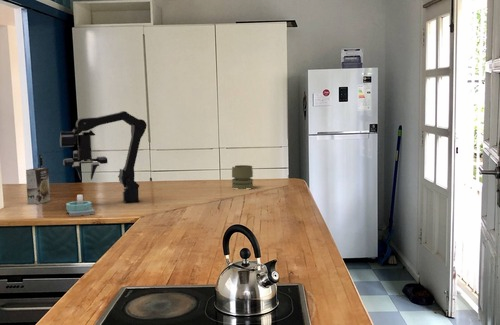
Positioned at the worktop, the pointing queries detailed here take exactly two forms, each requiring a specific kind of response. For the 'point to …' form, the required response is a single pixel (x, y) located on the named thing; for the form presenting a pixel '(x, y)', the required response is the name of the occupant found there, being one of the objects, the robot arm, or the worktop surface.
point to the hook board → (78, 213)
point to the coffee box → (37, 185)
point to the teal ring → (78, 206)
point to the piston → (242, 176)
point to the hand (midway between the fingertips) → (86, 180)
